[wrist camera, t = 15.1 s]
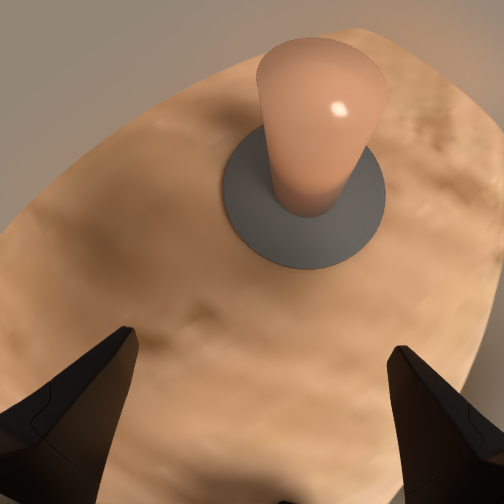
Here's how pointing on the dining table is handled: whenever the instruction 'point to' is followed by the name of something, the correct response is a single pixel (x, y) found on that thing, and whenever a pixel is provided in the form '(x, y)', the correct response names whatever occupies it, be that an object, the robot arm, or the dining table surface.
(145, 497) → the dining table surface
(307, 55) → the tan rounded cylinder
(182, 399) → the dining table surface
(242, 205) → the mat
